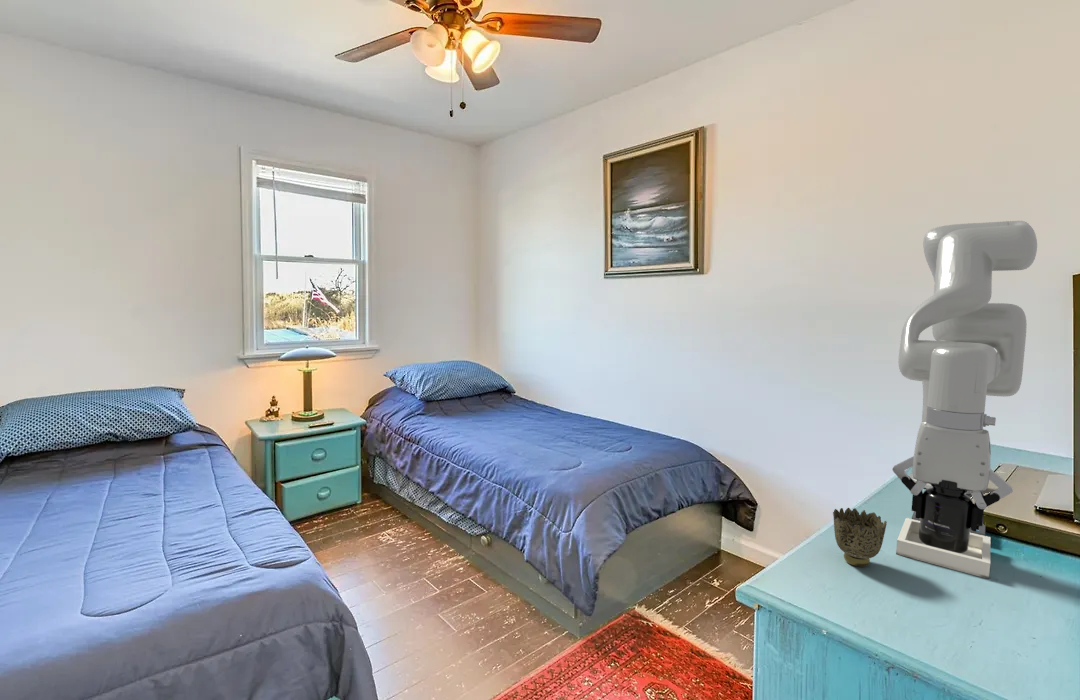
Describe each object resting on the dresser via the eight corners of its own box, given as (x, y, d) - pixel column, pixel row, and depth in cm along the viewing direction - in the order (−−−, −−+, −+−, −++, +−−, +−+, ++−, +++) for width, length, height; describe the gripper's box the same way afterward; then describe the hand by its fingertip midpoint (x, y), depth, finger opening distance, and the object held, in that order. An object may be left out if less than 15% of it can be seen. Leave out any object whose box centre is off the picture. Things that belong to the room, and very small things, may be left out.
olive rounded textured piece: (891, 577, 81) (895, 528, 80) (840, 572, 83) (843, 523, 82) (871, 554, 88) (874, 509, 88) (824, 550, 90) (827, 505, 89)
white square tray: (904, 530, 98) (905, 517, 97) (989, 551, 90) (990, 537, 89) (896, 553, 88) (897, 539, 88) (988, 579, 81) (990, 563, 80)
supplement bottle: (926, 550, 87) (932, 481, 86) (912, 533, 93) (917, 468, 92) (976, 557, 85) (983, 486, 84) (958, 539, 91) (964, 473, 90)
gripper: (1023, 424, 84) (1013, 529, 86) (895, 408, 95) (888, 502, 97) (1026, 433, 78) (1014, 546, 80) (888, 415, 90) (881, 515, 92)
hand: (945, 521), depth 89 cm, fingers closed on supplement bottle, 6 cm apart
